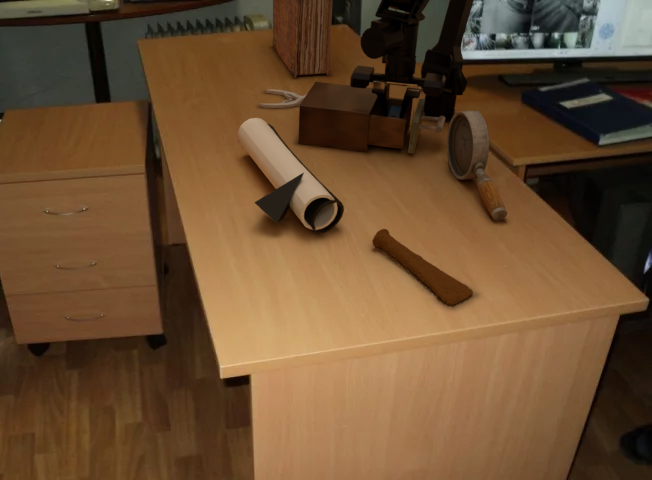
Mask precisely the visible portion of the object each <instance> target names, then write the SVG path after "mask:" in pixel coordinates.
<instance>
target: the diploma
mask: <svg viewBox="0 0 652 480" xmlns="http://www.w3.org/2000/svg"><path fill="white" fill-rule="evenodd" d="M237 139H238V143H240V145H241V146H242V148H243V149H244V150H245V152H247V154H248V155H249V156H250V158H251V160H253V162H254V163H255V165H256V166H257V167H258V168H259V169H260V171H261V172H262V173H263V174H264V176H265V177H266V179H267V180H268V181H269V182H270V183H271V185H272V186H273V187H274V190H272V191H271V192H269V193H267V194H265V195H264V196H263V197H260V198H259V199H257V200H256V201H255V202H254V204H256V206H257V207H258V208H259V209H260V210H261V211H263V212H264V214H266V215H267V216H268V217H269V218H270V219H271V220H272V221H273V222H274V223H275V224H279V223H281V222H282V221H284V220H285V219H286V217H287V215H288V212H289V210H290V209H291V210H292V212H293V213H294V214H295V216H296V217H297V218H298V220H300V222H301V223H302V225H303V226H304V227H305V228H307V229H309V230H313V232H315V233H317V234H324V233H326V232H330V231H331V230H332V229H333V228H335V227H336V225H338V224H339V223H340V221H341V219H342V218H343V215H344V212H345V206H344V204H343V202H342V201H341V200H340V199H339V198H338V197H337V196H335V194H333V192H332V191H330V190H329V188H328V187H326V186H325V184H324V183H322V182H321V181H320V179H319V178H317V177H316V175H315V174H314V173H312V172H311V171H310V169H309V168H308V167H307V166H306V165H305V164H304V163H303V162H302V160H300V158H299V157H297V155H296V154H295V153H294V152H293V151H292V150H291V148H290V147H289V146H288V145H287V144H286V142H285V141H284V140H283V139H282V137H281V136H280V134H279V133H278V132H277V130H276V129H275V127H274V126H273V125H271V124H270V123H267V121H265V120H264V119H262V118H259V117H251V118H248V119H246V120H245V121H244V122H242V124H241V125H240V127H239V128H238V131H237Z"/></svg>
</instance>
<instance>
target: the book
mask: <svg viewBox="0 0 652 480" xmlns="http://www.w3.org/2000/svg"><path fill="white" fill-rule="evenodd" d="M332 17H333V0H272V47H273V49H274V50H275V52H276V53H277V55H278V56H279V58H280V59H281V60H282V62H283V64H284V65H285V67H286V68H287V70H288V71H289V73H290V74H291V76H292V77H293V79H296V78H297V76H307V75H309V76H310V75H321V74H325V75H326V76H329V75H330V59H331V57H330V55H331V38H332V19H333V18H332Z"/></svg>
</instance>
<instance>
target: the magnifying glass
mask: <svg viewBox="0 0 652 480" xmlns="http://www.w3.org/2000/svg"><path fill="white" fill-rule="evenodd" d="M489 153H490V136H489V130H488V126H487V122H486V120H485V118H484V116H483V114H481V112H480V111H477V110H462V111H461V110H459V111H457V112H455V113H454V116H453V117H452V119H451V121H449V126H448V129H447V135H446V156H447V161H448V165H449V168H450V171H451V173H452V174H453V176H454V177H455V178H456V179H458V180H460V181H461V180H464V181H465V180H474V179H476V183H477V187H478V189H479V193H480V196H481V198H482V201H483V203H484V205H485V208H486V209H487V211H488V212H489V214H490V216H491V218H492V219H493V220H494V221H502V220H503V219H505V218H506V217H507V215H508V211H507V210H506V206H505V204H504V201H503V198H502V196H501V195H500V193H499V191H498V188H497V187H496V185H495V184H494V183H493V182H492V180H491V178H490V176H489V175H487V174H486V172H485V170H486V167H487V164H488V160H489Z"/></svg>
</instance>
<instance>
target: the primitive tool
mask: <svg viewBox="0 0 652 480" xmlns="http://www.w3.org/2000/svg"><path fill="white" fill-rule="evenodd" d="M371 242H372V246H374V247H375V248H377V249H383V250H384V251H385V252H387V253H388V254H390V255H391V257H393V258H394V259H395V260H397V261H398V262H399V263H401V264H402V266H403V268H406V269H407V270H408V271H410V272H411V273H412V274H413V275H415V276H416V277H417V278H418V279H419V280H420V281H421V282H422V283H423V284H424V285H426V286H427V287H428V288H429V289H430V290H431V291H432V292H433V293H434V294H435V295H436V297H438V298H440V300H441V302H442V303H445V304H446V305H448V306H454V305H456V304H459V302H463V301H464V300H466V299H467V298H469V297H471V296H472V295H473V294H474V291H473V290H472V289H471V288H470V287H469V286H468V285H466V284H465V283H463V282H461V281H459V279H456V278H455V277H454V276H453V277H452V276H451V275H449V274H448V273H446V272H444V271H443V270H442V269H440V268H439V267H438V266H436V265H434V264H432V263H431V262H429V261H427V260H426V259H424V258H423V257H422V256H421V255H420V254H417V253H415V252H413V251H412V250H411V249H409V248H408V247H407V246H405V245H404V244H402V243H401V242H400V241H398V240H397V239H396V238H394V236H391V234H390V231H389V230H388V229H387V228H381V229H379V230H378V231H377V232H376V233H375V235H374V236H373V238H372V240H371Z"/></svg>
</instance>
